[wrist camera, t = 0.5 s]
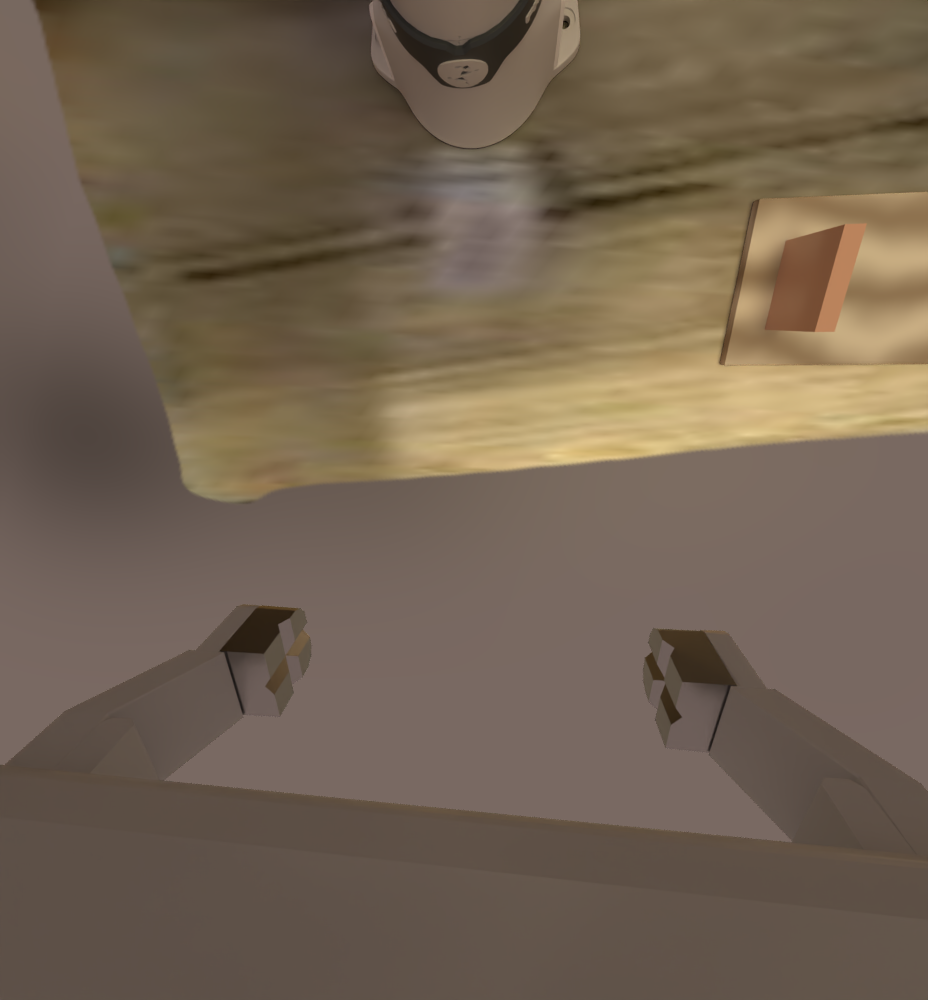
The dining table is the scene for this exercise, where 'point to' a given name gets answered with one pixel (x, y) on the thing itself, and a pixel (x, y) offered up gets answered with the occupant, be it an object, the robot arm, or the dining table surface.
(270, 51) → the dining table surface
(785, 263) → the tile
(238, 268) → the dining table surface
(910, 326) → the board
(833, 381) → the dining table surface
